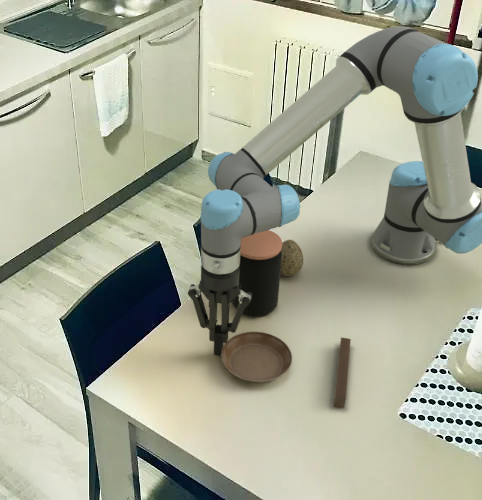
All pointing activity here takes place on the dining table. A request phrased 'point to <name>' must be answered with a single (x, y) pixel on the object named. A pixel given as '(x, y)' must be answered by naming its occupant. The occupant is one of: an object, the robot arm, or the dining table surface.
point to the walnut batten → (342, 373)
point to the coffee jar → (260, 272)
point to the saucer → (256, 356)
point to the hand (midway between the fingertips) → (218, 351)
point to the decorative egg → (291, 258)
